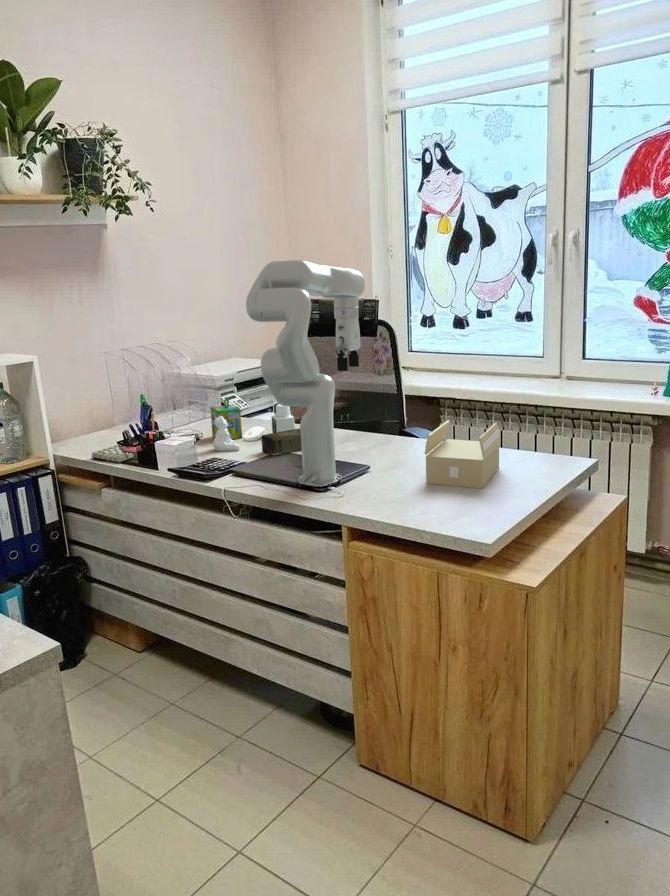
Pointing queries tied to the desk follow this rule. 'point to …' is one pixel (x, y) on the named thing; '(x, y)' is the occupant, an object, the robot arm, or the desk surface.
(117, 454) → the mechanical keyboard
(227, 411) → the chalk box
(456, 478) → the carton
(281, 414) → the medicine bottle
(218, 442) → the white creature statuette
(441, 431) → the left flap
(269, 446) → the beverage carton
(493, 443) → the right flap
